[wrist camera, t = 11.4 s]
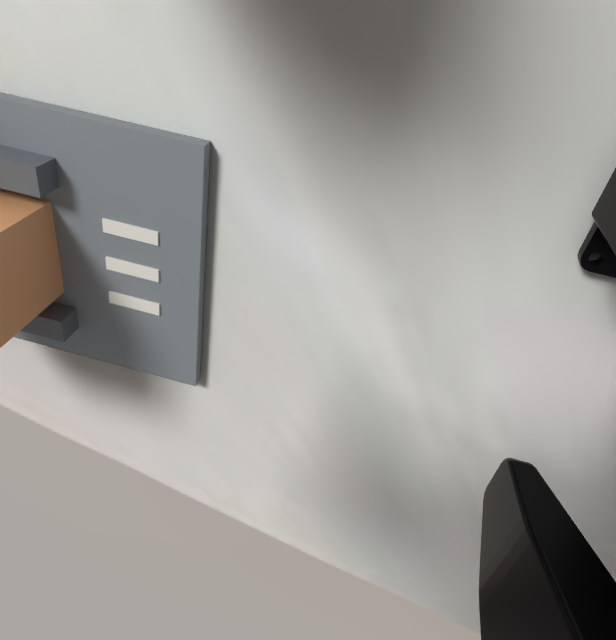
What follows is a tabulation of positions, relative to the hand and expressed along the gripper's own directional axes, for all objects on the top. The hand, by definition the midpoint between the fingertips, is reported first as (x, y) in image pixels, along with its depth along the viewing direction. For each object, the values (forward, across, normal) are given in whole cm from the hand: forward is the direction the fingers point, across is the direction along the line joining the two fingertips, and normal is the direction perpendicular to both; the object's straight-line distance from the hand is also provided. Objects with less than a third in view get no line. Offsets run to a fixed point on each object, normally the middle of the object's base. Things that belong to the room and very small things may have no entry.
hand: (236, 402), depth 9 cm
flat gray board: (+12, +12, +6) cm, 18 cm away
